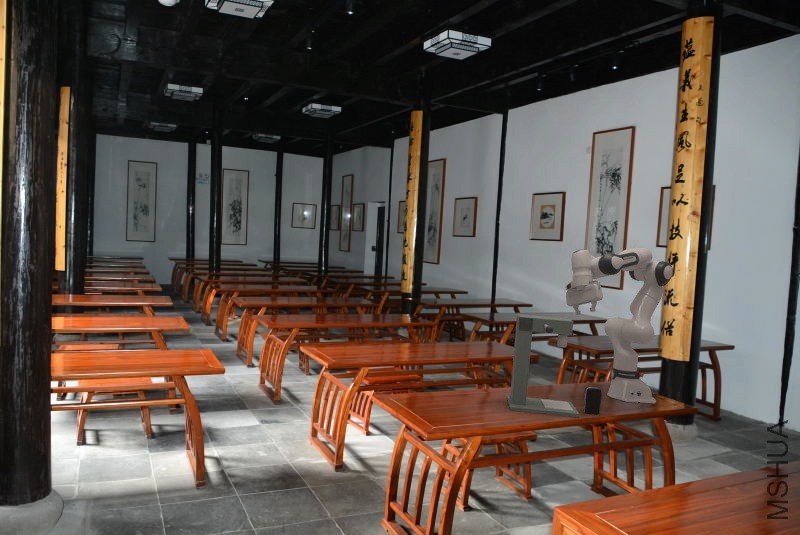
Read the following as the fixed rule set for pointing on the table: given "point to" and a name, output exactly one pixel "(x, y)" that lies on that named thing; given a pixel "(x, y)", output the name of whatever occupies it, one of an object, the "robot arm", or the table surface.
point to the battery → (592, 400)
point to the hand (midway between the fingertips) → (585, 313)
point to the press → (522, 360)
